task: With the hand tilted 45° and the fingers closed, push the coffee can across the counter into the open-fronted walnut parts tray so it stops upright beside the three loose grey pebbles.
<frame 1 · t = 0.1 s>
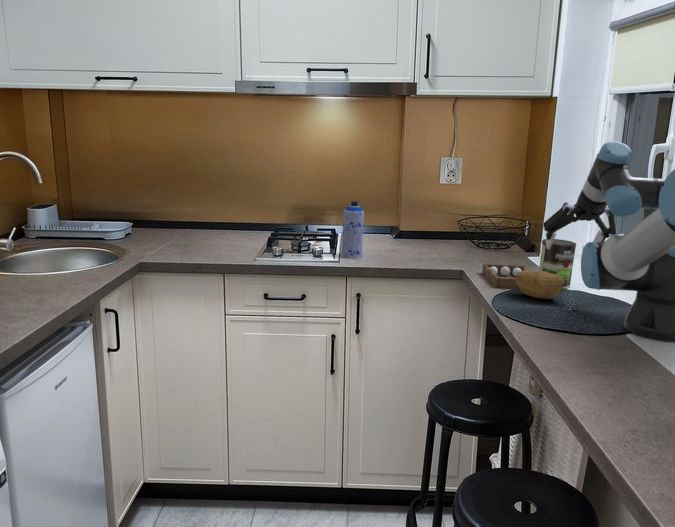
hand: (570, 247, 184), 15 cm above the worktop, tool tilted 35°, fingers open, 13 cm apart
coffee can: (553, 285, 202), on the worktop
pebble b: (504, 275, 210), on the worktop
potato: (536, 298, 186), on the worktop
pebble a: (516, 276, 210), on the worktop
aerosol can: (351, 256, 228), on the worktop
tray frame: (509, 280, 204), on the worktop
pebble c: (492, 275, 210), on the worktop
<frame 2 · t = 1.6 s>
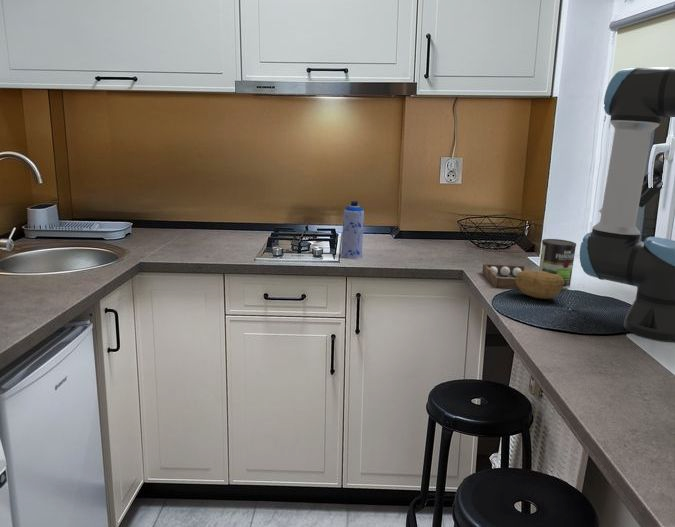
hand: (608, 216, 197), 23 cm above the worktop, tool tilted 45°, fingers open, 9 cm apart
nothing on the worktop moved.
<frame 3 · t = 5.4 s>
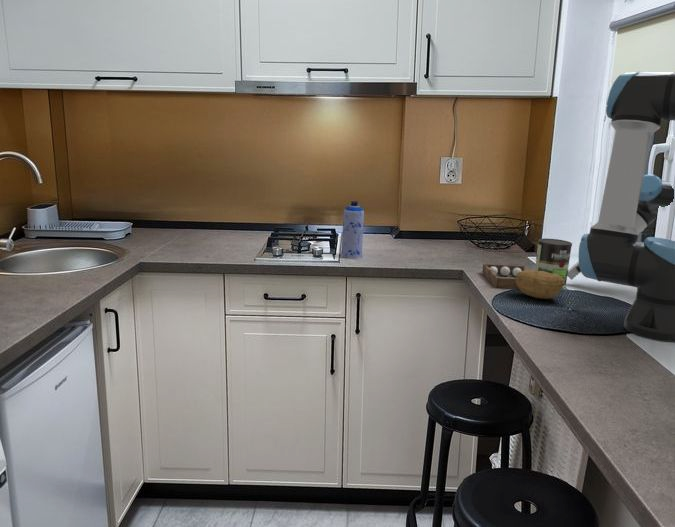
hand: (568, 276, 202), 3 cm above the worktop, tool tilted 45°, fingers closed
coffee can: (549, 284, 202), on the worktop, touching gripper
everything else where it was.
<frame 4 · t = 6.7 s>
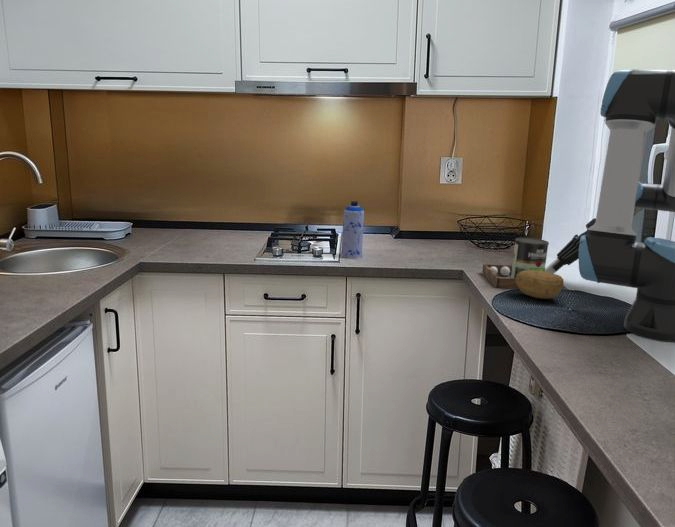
hand: (544, 274, 202), 3 cm above the worktop, tool tilted 45°, fingers closed
coffee can: (526, 284, 201), on the worktop, touching gripper
everything else where it was.
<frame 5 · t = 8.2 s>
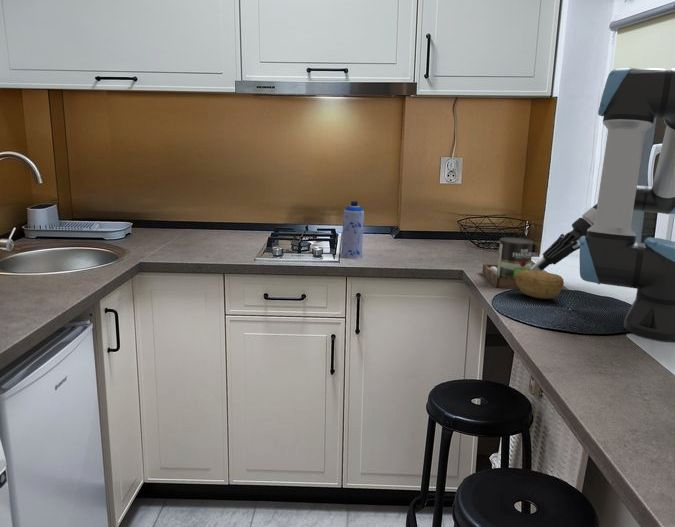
hand: (530, 274, 201), 3 cm above the worktop, tool tilted 45°, fingers closed
coffee can: (512, 284, 200), on the worktop, touching gripper, tray frame
everything else where it was.
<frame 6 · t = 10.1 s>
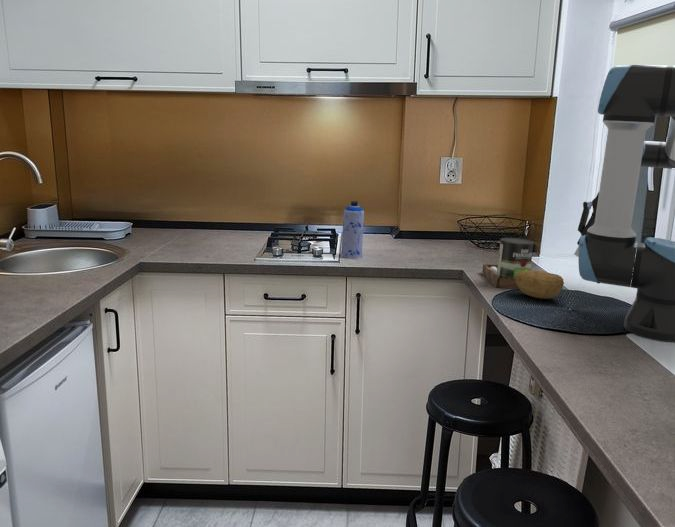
hand: (577, 256, 199), 10 cm above the worktop, tool tilted 25°, fingers closed
coffee can: (512, 284, 200), on the worktop
everything else where it was.
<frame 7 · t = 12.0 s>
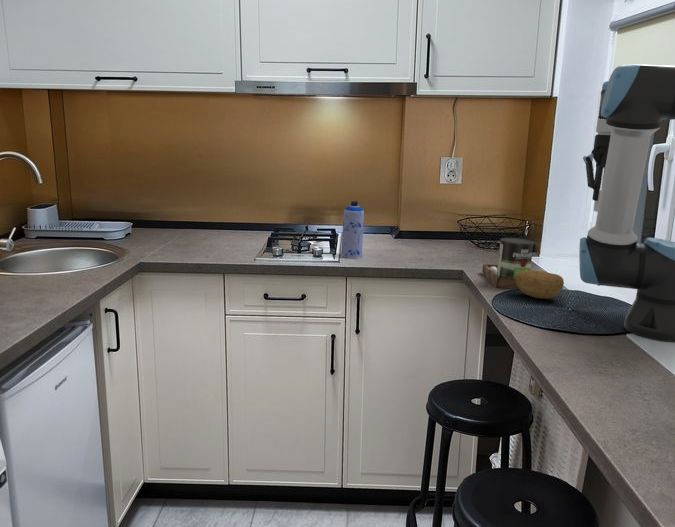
hand: (597, 211, 196), 24 cm above the worktop, tool pointing down, fingers closed
nothing on the worktop moved.
at the end: coffee can inside the target area on the tray frame (3.7 cm from its centre), point 0.0 cm above the tray frame's base; coffee can tilted 0°; coffee can moved 13.8 cm from its start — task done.
